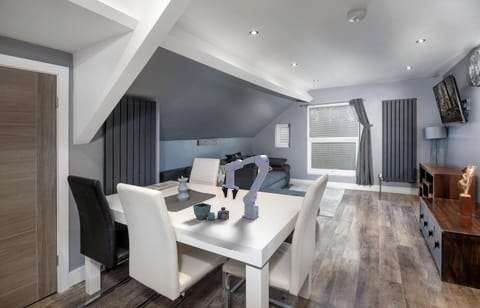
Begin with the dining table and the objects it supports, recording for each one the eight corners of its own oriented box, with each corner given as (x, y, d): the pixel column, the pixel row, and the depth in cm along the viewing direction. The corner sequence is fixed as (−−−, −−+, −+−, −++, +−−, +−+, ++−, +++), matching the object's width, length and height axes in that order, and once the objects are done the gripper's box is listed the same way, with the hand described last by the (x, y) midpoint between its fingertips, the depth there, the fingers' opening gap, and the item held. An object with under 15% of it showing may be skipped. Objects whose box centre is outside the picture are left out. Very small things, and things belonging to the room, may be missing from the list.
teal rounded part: (216, 219, 158) (216, 213, 157) (211, 221, 154) (211, 214, 154) (211, 218, 160) (211, 211, 160) (206, 219, 157) (206, 213, 156)
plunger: (226, 216, 161) (226, 207, 161) (223, 217, 159) (223, 208, 158) (222, 215, 163) (223, 206, 162) (220, 216, 160) (220, 207, 160)
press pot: (232, 217, 163) (232, 210, 163) (223, 220, 156) (223, 214, 155) (224, 214, 168) (224, 208, 167) (215, 218, 160) (215, 211, 160)
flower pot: (202, 215, 166) (202, 202, 166) (211, 217, 161) (211, 204, 160) (192, 218, 160) (192, 205, 159) (201, 221, 154) (201, 207, 153)
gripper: (241, 180, 170) (241, 198, 171) (226, 178, 179) (225, 195, 180) (235, 181, 164) (235, 200, 165) (219, 179, 173) (219, 197, 174)
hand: (229, 198), depth 172 cm, fingers open, 7 cm apart
